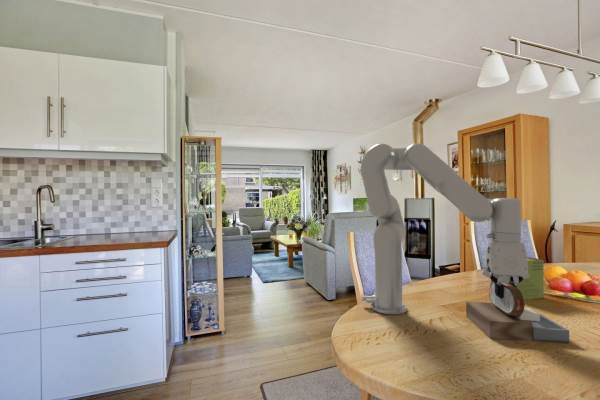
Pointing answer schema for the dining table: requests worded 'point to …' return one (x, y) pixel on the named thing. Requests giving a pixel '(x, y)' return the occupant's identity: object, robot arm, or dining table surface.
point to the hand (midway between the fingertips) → (505, 296)
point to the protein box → (531, 280)
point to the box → (548, 331)
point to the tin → (508, 299)
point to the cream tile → (529, 315)
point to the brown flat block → (498, 322)
